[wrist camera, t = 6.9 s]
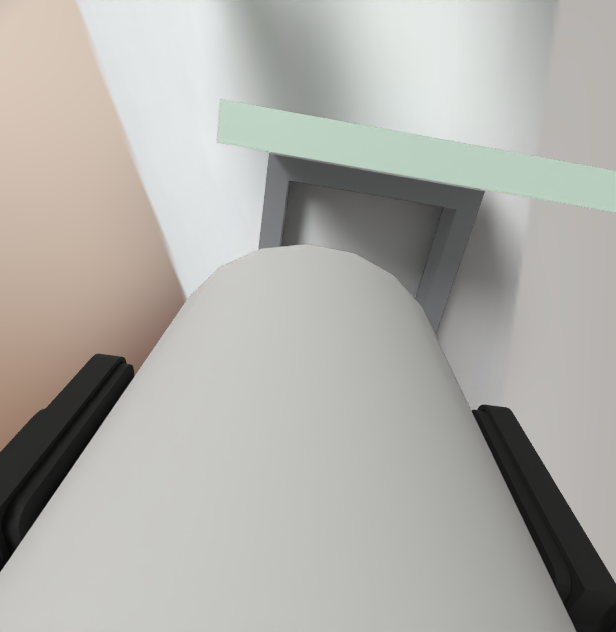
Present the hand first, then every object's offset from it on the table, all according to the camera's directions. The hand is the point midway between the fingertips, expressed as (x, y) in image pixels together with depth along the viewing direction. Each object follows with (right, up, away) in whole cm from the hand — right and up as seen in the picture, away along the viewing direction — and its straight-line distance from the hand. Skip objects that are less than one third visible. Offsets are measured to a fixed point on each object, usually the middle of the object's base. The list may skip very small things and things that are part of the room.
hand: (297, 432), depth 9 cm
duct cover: (+5, +10, +11) cm, 16 cm away
